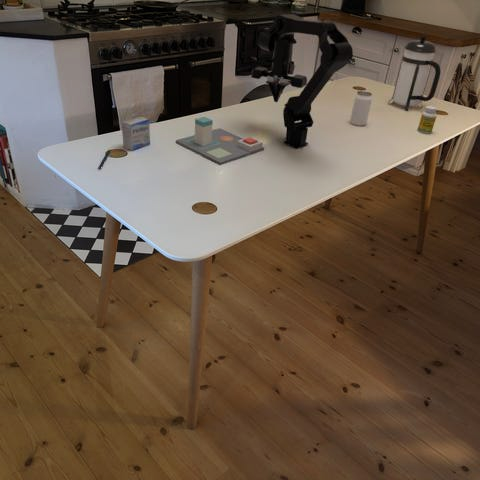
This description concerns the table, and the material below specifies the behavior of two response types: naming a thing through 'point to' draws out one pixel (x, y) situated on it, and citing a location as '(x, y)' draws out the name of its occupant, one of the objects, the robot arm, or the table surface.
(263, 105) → the table surface
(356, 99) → the can
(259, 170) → the table surface
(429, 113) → the supplement bottle
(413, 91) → the coffee press
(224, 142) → the picture board
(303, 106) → the robot arm
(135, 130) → the medicine box
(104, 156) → the pencil
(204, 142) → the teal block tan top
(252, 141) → the button
